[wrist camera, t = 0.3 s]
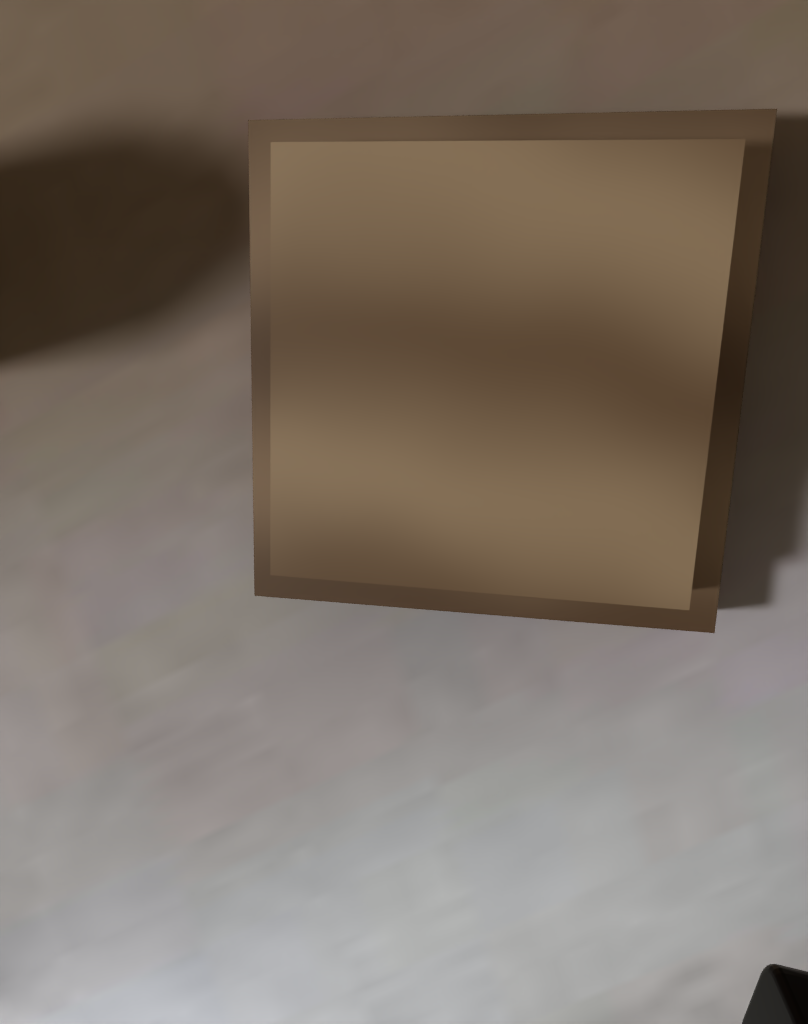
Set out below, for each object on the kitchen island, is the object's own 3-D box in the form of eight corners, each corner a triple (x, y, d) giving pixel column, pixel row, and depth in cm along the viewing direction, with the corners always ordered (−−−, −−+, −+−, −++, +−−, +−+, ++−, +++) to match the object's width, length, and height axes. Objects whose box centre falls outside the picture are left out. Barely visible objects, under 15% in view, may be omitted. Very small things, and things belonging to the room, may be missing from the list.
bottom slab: (693, 601, 21) (714, 632, 19) (283, 570, 23) (254, 595, 20) (745, 141, 19) (777, 108, 16) (281, 148, 20) (248, 120, 18)
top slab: (676, 590, 19) (689, 610, 17) (288, 559, 20) (270, 575, 19) (726, 158, 17) (745, 138, 15) (291, 160, 18) (270, 142, 17)
